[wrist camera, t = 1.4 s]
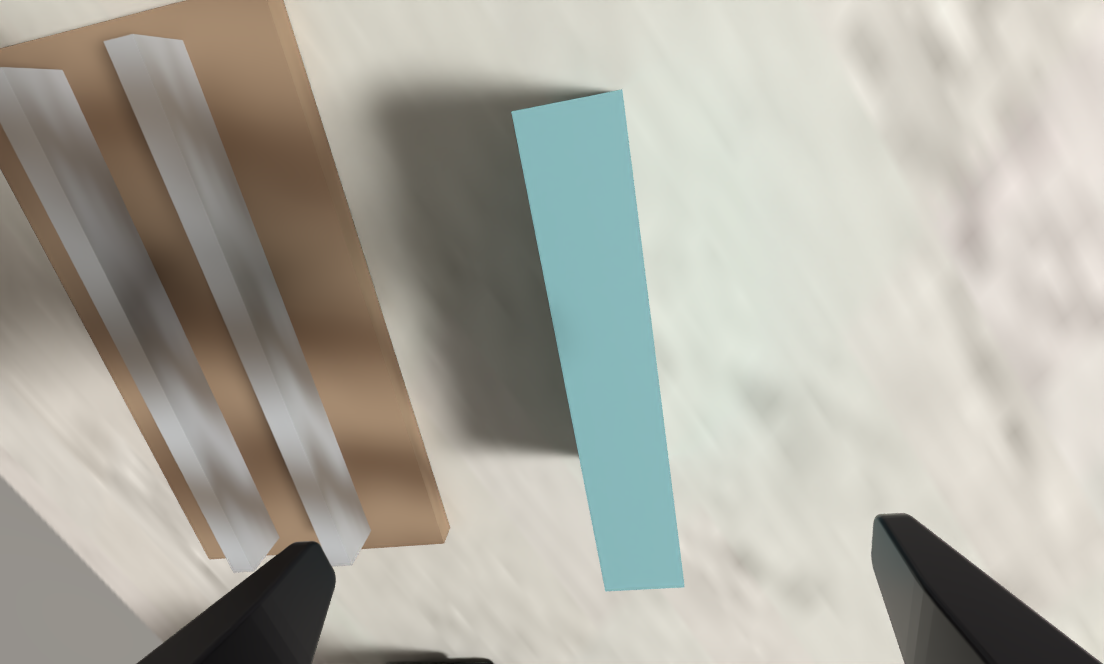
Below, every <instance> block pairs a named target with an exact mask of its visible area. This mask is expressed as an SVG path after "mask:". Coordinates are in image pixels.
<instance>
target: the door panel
mask: <svg viewBox="0 0 1104 664" xmlns="http://www.w3.org/2000/svg"><path fill="white" fill-rule="evenodd" d="M511 113H512V118H513V123H514V128H515V133H516V138H517V143H518V148H519V153H520V158H521V164H522V169H523V174H524V179H525V184H526V189H527V194H528V199H529V204H530V209H531V214H532V220H533V225H534V230H535V235H536V240H537V245H538V250H539V255H540V260H541V265H542V270H543V276H544V281H545V286H546V291H547V296H548V301H549V306H550V311H551V316H552V321H553V327H554V332H555V337H556V342H557V347H558V352H559V357H560V362H561V367H562V372H563V377H564V383H565V388H566V393H567V398H568V403H569V408H570V413H571V418H572V423H573V428H574V434H575V439H576V444H577V449H578V454H579V459H580V464H581V469H582V474H583V479H584V484H585V490H586V495H587V500H588V505H589V510H590V515H591V520H592V525H593V530H594V535H595V540H596V546H597V551H598V556H599V561H600V566H601V571H602V576H603V581H604V586H605V591H621V590H640V589H660V588H680V587H684V579H683V571H682V563H681V555H680V547H679V539H678V531H677V523H676V515H675V507H674V499H673V491H672V483H671V475H670V467H669V459H668V451H667V443H666V435H665V427H664V419H663V411H662V403H661V395H660V387H659V379H658V371H657V363H656V355H655V347H654V339H653V331H652V323H651V315H650V307H649V299H648V291H647V284H646V276H645V268H644V260H643V252H642V244H641V236H640V228H639V220H638V212H637V204H636V196H635V188H634V180H633V172H632V164H631V156H630V148H629V140H628V132H627V124H626V116H625V108H624V100H623V92H622V90H617V91H612V92H607V93H602V94H597V95H592V96H587V97H582V98H577V99H572V100H567V101H562V102H557V103H552V104H547V105H542V106H537V107H532V108H527V109H522V110H517V111H512V112H511Z"/></svg>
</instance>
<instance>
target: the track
mask: <svg viewBox="0 0 1104 664" xmlns="http://www.w3.org/2000/svg"><path fill="white" fill-rule="evenodd" d="M0 169H1V170H2V172H3V174H4V176H5V178H6V180H7V182H8V184H9V185H10V187H11V189H12V191H13V193H14V195H15V197H16V199H17V200H18V202H19V204H20V206H21V208H22V210H23V212H24V214H25V215H26V217H27V219H28V221H29V223H30V225H31V227H32V229H33V230H34V232H35V234H36V236H37V238H38V240H39V242H40V244H41V245H42V247H43V249H44V251H45V253H46V255H47V257H48V259H49V260H50V262H51V264H52V266H53V268H54V270H55V272H56V273H57V275H58V277H59V279H60V281H61V283H62V285H63V287H64V288H65V290H66V292H67V294H68V296H69V298H70V300H71V302H72V303H73V305H74V307H75V309H76V311H77V313H78V315H79V317H80V318H81V320H82V322H83V324H84V326H85V328H86V330H87V332H88V333H89V335H90V337H91V339H92V341H93V343H94V345H95V347H96V348H97V350H98V352H99V354H100V356H101V358H102V360H103V361H104V363H105V365H106V367H107V369H108V371H109V373H110V375H111V376H112V378H113V380H114V382H115V384H116V386H117V388H118V390H119V391H120V393H121V395H122V397H123V399H124V401H125V403H126V405H127V406H128V408H129V410H130V412H131V414H132V416H133V418H134V420H135V421H136V423H137V425H138V427H139V429H140V431H141V433H142V435H143V436H144V438H145V440H146V442H147V444H148V446H149V448H150V449H151V451H152V453H153V455H154V457H155V459H156V461H157V463H158V464H159V466H160V468H161V470H162V472H163V474H164V476H165V478H166V479H167V481H168V483H169V485H170V487H171V489H172V491H173V493H174V494H175V496H176V498H177V500H178V502H179V504H180V506H181V508H182V509H183V511H184V513H185V515H186V517H187V519H188V521H189V523H190V524H191V526H192V528H193V530H194V532H195V534H196V536H197V537H198V539H199V541H200V543H201V545H202V547H203V549H204V551H205V552H206V554H207V556H208V558H209V559H222V558H226V559H227V561H228V563H229V565H230V567H231V569H232V570H233V572H250V571H255V569H256V568H257V567H258V565H259V564H260V563H261V561H262V560H263V559H264V558H265V556H266V555H277V554H279V553H280V552H281V551H283V550H284V549H285V548H286V547H288V546H289V545H290V544H292V543H295V542H302V541H316V542H317V543H319V544H320V546H321V547H322V549H323V551H324V553H325V555H326V556H327V558H328V560H329V562H330V564H331V566H346V565H352V564H353V562H354V561H355V559H356V557H357V555H358V554H359V552H360V550H361V549H369V548H384V547H399V546H413V545H428V544H443V543H444V542H445V540H446V537H447V534H448V532H449V529H450V526H449V522H448V519H447V516H446V513H445V510H444V507H443V503H442V500H441V497H440V494H439V491H438V488H437V485H436V481H435V478H434V475H433V472H432V469H431V466H430V462H429V459H428V456H427V453H426V450H425V447H424V443H423V440H422V437H421V434H420V431H419V428H418V425H417V421H416V418H415V415H414V412H413V409H412V406H411V402H410V399H409V396H408V393H407V390H406V387H405V383H404V380H403V377H402V374H401V371H400V368H399V365H398V361H397V358H396V355H395V352H394V349H393V346H392V342H391V339H390V336H389V333H388V330H387V327H386V323H385V320H384V317H383V314H382V311H381V308H380V305H379V301H378V298H377V295H376V292H375V289H374V286H373V282H372V279H371V276H370V273H369V270H368V267H367V263H366V260H365V257H364V254H363V251H362V248H361V245H360V241H359V238H358V235H357V232H356V229H355V226H354V222H353V219H352V216H351V213H350V210H349V207H348V203H347V200H346V197H345V194H344V191H343V188H342V184H341V181H340V178H339V175H338V172H337V169H336V166H335V162H334V159H333V156H332V153H331V150H330V147H329V143H328V140H327V137H326V134H325V131H324V128H323V124H322V121H321V118H320V115H319V112H318V109H317V106H316V102H315V99H314V96H313V93H312V90H311V87H310V83H309V80H308V77H307V74H306V71H305V68H304V64H303V61H302V58H301V55H300V52H299V49H298V46H297V42H296V39H295V36H294V33H293V30H292V27H291V23H290V20H289V17H288V14H287V11H286V8H285V4H284V1H283V0H186V1H182V2H178V3H174V4H170V5H166V6H163V7H159V8H155V9H151V10H147V11H143V12H140V13H136V14H132V15H128V16H124V17H120V18H116V19H113V20H109V21H105V22H101V23H97V24H93V25H89V26H86V27H82V28H78V29H74V30H70V31H66V32H63V33H59V34H55V35H51V36H47V37H43V38H39V39H36V40H32V41H28V42H24V43H20V44H16V45H12V46H9V47H5V48H1V49H0Z"/></svg>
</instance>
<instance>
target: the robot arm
mask: <svg viewBox="0 0 1104 664" xmlns="http://www.w3.org/2000/svg"><path fill="white" fill-rule="evenodd" d="M871 558H872V565H873V569H874V572H875V576H876V579H877V582H878V585H879V588H880V591H881V594H882V597H883V600H884V603H885V606H886V609H887V612H888V615H889V618H890V621H891V624H892V627H893V630H894V633H895V636H896V639H897V642H898V645H899V648H900V651H901V654H902V657H903V660H904V663H905V664H1102V663H1101V662H1100V661H1099V660H1097V659H1096V658H1095V657H1093V656H1092V655H1091V654H1090V653H1088V652H1087V651H1086V650H1084V649H1083V648H1082V647H1080V646H1079V645H1078V644H1077V643H1075V642H1074V641H1073V640H1071V639H1070V638H1069V637H1067V636H1066V635H1065V634H1064V633H1062V632H1061V631H1060V630H1058V629H1057V628H1056V627H1055V626H1053V625H1052V624H1051V623H1049V622H1048V621H1047V620H1045V619H1044V618H1043V617H1042V616H1040V615H1039V614H1038V613H1036V612H1035V611H1034V610H1033V609H1031V608H1030V607H1029V606H1027V605H1026V604H1025V603H1023V602H1022V601H1021V600H1020V599H1018V598H1017V597H1016V596H1014V595H1013V594H1012V593H1010V592H1009V591H1008V590H1007V589H1005V588H1004V587H1003V586H1001V585H1000V584H999V583H998V582H996V581H995V580H994V579H992V578H991V577H990V576H988V575H987V574H986V573H985V572H983V571H982V570H981V569H979V568H978V567H977V566H975V565H974V564H973V563H972V562H970V561H969V560H968V559H966V558H965V557H964V556H963V555H961V554H960V553H959V552H957V551H956V550H955V549H953V548H952V547H951V546H950V545H948V544H947V543H946V542H944V541H943V540H942V539H941V538H939V537H938V536H937V535H935V534H934V533H933V532H931V531H930V530H929V529H928V528H926V527H925V526H924V525H922V524H921V523H920V522H918V521H917V520H916V519H915V518H913V517H912V516H910V515H908V514H905V513H894V514H879V515H877V516H876V517H875V519H874V523H873V537H872V551H871ZM335 582H336V576H335V572H334V570H333V568H332V566H331V564H330V562H329V560H328V558H327V556H326V555H325V553H324V551H323V549H322V547H321V546H320V544H319V543H317V542H316V541H302V542H295V543H292V544H290V545H289V546H288V547H286V548H285V549H284V550H283V551H281V552H280V553H279V554H277V555H276V556H275V557H274V558H272V559H271V560H270V561H268V562H267V563H266V564H265V565H263V566H262V567H261V568H259V569H258V570H257V571H255V572H254V573H253V574H252V575H250V576H249V577H248V578H246V579H245V580H244V581H243V582H241V583H240V584H239V585H237V586H236V587H235V588H234V589H232V590H231V591H230V592H228V593H227V594H226V595H224V596H223V597H222V598H221V599H219V600H218V601H217V602H215V603H214V604H213V605H212V606H210V607H209V608H208V609H206V610H205V611H204V612H203V613H201V614H200V615H199V616H197V617H196V618H195V619H194V620H192V621H191V622H190V623H188V624H187V625H186V626H184V627H183V628H182V629H181V630H179V631H178V632H177V633H175V634H174V635H173V636H172V637H170V638H169V639H168V640H166V641H165V642H164V643H163V644H161V645H160V646H159V647H158V648H156V649H155V650H153V651H152V652H151V653H150V654H148V655H147V656H146V657H145V658H143V659H142V660H141V661H139V662H138V663H137V664H312V661H313V658H314V654H315V651H316V648H317V644H318V641H319V638H320V634H321V631H322V628H323V625H324V621H325V618H326V615H327V611H328V608H329V605H330V601H331V598H332V595H333V592H334V588H335ZM456 664H491V663H456Z"/></svg>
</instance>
